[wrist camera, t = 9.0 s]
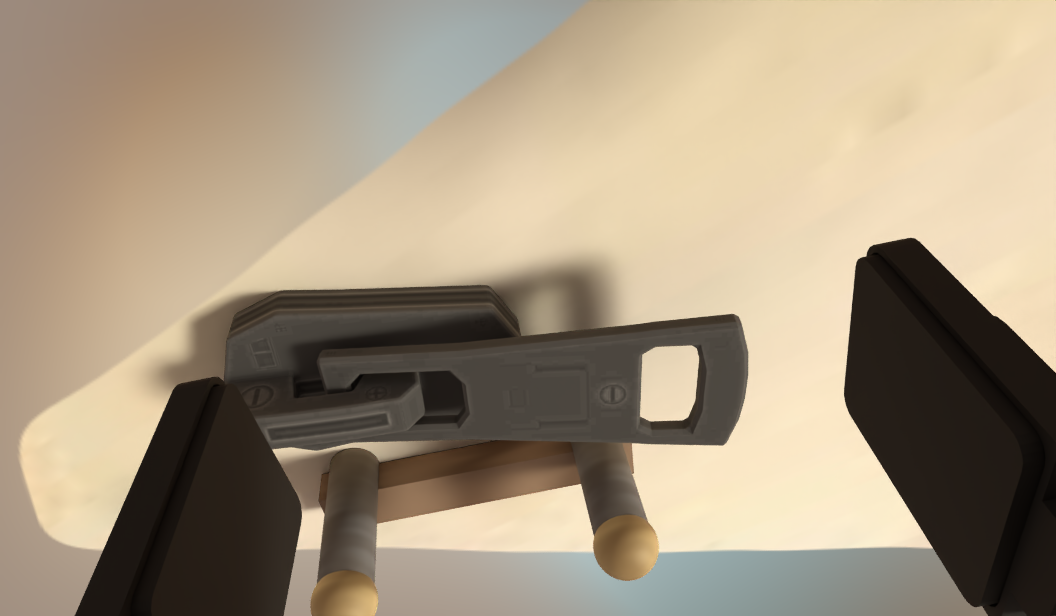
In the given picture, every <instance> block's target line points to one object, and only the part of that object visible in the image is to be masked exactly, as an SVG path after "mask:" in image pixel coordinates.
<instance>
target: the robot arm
mask: <svg viewBox="0 0 1056 616" xmlns="http://www.w3.org/2000/svg"><path fill="white" fill-rule="evenodd" d="M844 397H845V402H846V406H847V409H848V412H849V414H850V415H851V417H852V419H853V420H854V422H855V424H856V425H857V427H858V428H859V430H860V432H861V433H862V435H863V436H864V438H865V440H866V441H867V443H868V444H869V446H870V448H871V449H872V451H873V452H874V454H875V456H876V457H877V459H878V461H879V462H880V464H881V465H882V467H883V469H884V470H885V472H886V473H887V475H888V477H889V478H890V480H891V481H892V483H893V485H894V486H895V488H896V489H897V491H898V493H899V494H900V496H901V497H902V499H903V501H904V502H905V504H906V505H907V507H908V509H909V510H910V512H911V513H912V515H913V517H914V518H915V520H916V521H917V523H918V525H919V526H920V528H921V529H922V531H923V533H924V534H925V536H926V538H927V539H928V541H929V542H930V544H931V546H932V547H933V549H934V550H935V552H936V554H937V555H938V557H939V558H940V560H941V561H942V563H943V565H944V566H945V568H946V570H947V571H948V573H949V574H950V576H951V578H952V579H953V581H954V582H955V584H956V586H957V587H958V589H959V590H960V592H961V593H962V595H963V597H964V598H965V599H966V601H967V602H968V603H970V605H972V606H974V607H979V606H983V608H984V610H985V611H986V613H987V614H988V616H1056V373H1055V372H1054V371H1053V370H1052V369H1051V368H1050V367H1049V366H1048V365H1047V364H1046V363H1045V362H1044V361H1043V360H1042V359H1041V358H1040V357H1039V356H1038V355H1037V354H1036V353H1035V352H1034V351H1033V350H1032V349H1031V348H1030V347H1029V346H1028V345H1027V344H1026V343H1025V342H1024V341H1023V340H1022V339H1021V338H1020V337H1019V336H1018V335H1017V334H1016V333H1015V332H1014V331H1013V330H1012V329H1011V328H1010V327H1009V326H1008V325H1007V324H1006V323H1005V322H1003V321H1002V320H1001V319H999V318H998V317H996V316H993V315H992V314H991V313H990V312H989V311H988V310H987V309H986V308H985V307H984V306H983V305H982V304H981V303H980V302H979V301H978V300H977V299H976V298H975V297H974V296H973V295H972V294H971V293H970V292H969V291H968V290H967V289H966V288H965V287H964V286H963V285H962V284H961V283H960V282H959V281H958V280H957V279H956V278H955V277H954V276H953V275H952V274H951V273H950V272H949V271H948V270H947V269H946V268H945V267H944V266H943V265H942V264H941V263H940V262H939V261H938V260H937V259H936V258H935V257H934V256H933V255H932V254H931V253H930V252H929V251H928V250H927V249H926V248H925V247H924V246H923V245H922V244H921V243H920V242H919V241H918V240H916V239H915V238H907V239H902V240H897V241H892V242H887V243H882V244H877V245H873V246H871V247H870V248H869V250H868V252H867V256H866V257H862V258H860V259H858V261H857V263H856V269H855V280H854V290H853V301H852V312H851V322H850V333H849V344H848V354H847V365H846V376H845V386H844ZM301 519H302V510H301V504H300V501H299V498H298V496H297V494H296V492H295V490H294V489H293V487H292V485H291V483H290V481H289V480H288V478H287V476H286V474H285V472H284V471H283V469H282V467H281V465H280V463H279V462H278V460H277V458H276V456H275V454H274V453H273V451H272V449H271V447H270V445H269V444H268V442H267V440H266V438H265V436H264V435H263V433H262V431H261V429H260V427H259V426H258V424H257V422H256V420H255V418H254V417H253V415H252V413H251V411H250V409H249V408H248V406H247V404H246V402H245V400H244V399H243V397H242V395H241V393H240V391H239V390H238V388H237V387H236V386H235V385H234V384H225V383H224V381H223V380H222V379H220V378H219V377H211V378H206V379H201V380H196V381H191V382H186V383H181V384H179V385H177V386H176V387H175V388H174V390H173V392H172V394H171V396H170V398H169V401H168V403H167V405H166V408H165V410H164V412H163V414H162V417H161V419H160V421H159V424H158V426H157V428H156V431H155V433H154V435H153V437H152V440H151V442H150V444H149V447H148V449H147V451H146V453H145V456H144V458H143V460H142V463H141V465H140V467H139V470H138V472H137V474H136V476H135V479H134V481H133V483H132V486H131V488H130V490H129V493H128V495H127V497H126V499H125V502H124V504H123V506H122V509H121V511H120V513H119V515H118V518H117V520H116V522H115V525H114V527H113V529H112V532H111V534H110V536H109V538H108V541H107V543H106V545H105V548H104V550H103V552H102V554H101V557H100V559H99V561H98V564H97V566H96V568H95V571H94V573H93V575H92V577H91V580H90V582H89V584H88V587H87V589H86V591H85V594H84V596H83V598H82V600H81V603H80V605H79V607H78V610H77V612H76V614H75V616H283V615H284V610H285V605H286V599H287V594H288V589H289V584H290V578H291V573H292V568H293V563H294V557H295V552H296V547H297V542H298V536H299V531H300V526H301Z"/></svg>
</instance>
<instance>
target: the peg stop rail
mask: <svg viewBox="0 0 1056 616" xmlns="http://www.w3.org/2000/svg"><path fill="white" fill-rule="evenodd" d="M633 473H634V469H633V455H632V443H606V442H562V441H517V440H498V441H493V442H487V443H482V444H477V445H472V446H467V447H461V448H456V449H451V450H446V451H441V452H436V453H430V454H425V455H420V456H415V457H410V458H404V459H399V460H394V461H389V462H384V463H379V461H378V459H377V457H376V456H375V455H374V454H372V453H371V452H369V451H367V450H364V449H358V448H351V449H346V450H343V451H341V452H339V453H337V454H336V455H335V456H334V457H333V458H332V460H331V463H330V471H329V473H327V474H322V478H321V486H320V494H319V503H320V505H321V507H322V509H323V512H324V514H325V516H324V525H323V534H322V543H321V552H320V561H319V570H318V579H317V585H316V587H315V589H314V591H313V593H312V597H311V614H312V616H374V615H375V613H376V610H377V606H378V593H377V589H376V587H375V560H376V535H377V523H383V522H388V521H393V520H398V519H403V518H408V517H413V516H418V515H424V514H429V513H434V512H439V511H444V510H449V509H454V508H459V507H464V506H470V505H475V504H480V503H485V502H490V501H495V500H500V499H505V498H511V497H516V496H521V495H526V494H531V493H536V492H541V491H546V490H552V489H557V488H562V487H567V486H572V485H577V484H581V485H582V489H583V493H584V497H585V501H586V505H587V510H588V514H589V518H590V522H591V526H592V530H593V534H594V542H593V549H594V554H595V558H596V560H597V562H598V564H599V565H600V567H601V568H602V569H603V570H604V571H605V572H606V573H607V574H609V575H610V576H611V577H614V578H616V579H619V580H625V581H630V580H635V579H638V578H641V577H643V576H644V575H646V574H647V573H648V572H649V571H650V570H651V569H652V568H653V566H654V565H655V562H656V560H657V557H658V552H659V544H658V539H657V536H656V533H655V531H654V529H653V528H652V526H651V525H650V524H649V523H648V521H647V518H646V515H645V512H644V508H643V505H642V502H641V499H640V496H639V493H638V490H637V487H636V484H635V481H634V478H633V475H632V474H633Z"/></svg>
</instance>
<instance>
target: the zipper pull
mask: <svg viewBox="0 0 1056 616" xmlns="http://www.w3.org/2000/svg"><path fill="white" fill-rule="evenodd" d="M686 345H692V346H694V347H696V348H697V351H698V355H699V368H698V379H697V389H696V400H695V403H694V405H693V408H692V410H691V412H690V415H689V417H688V418H687V419H685V420H683V421H654V422H650V421H648V420H646V419H644V418H642V417H640V399H641V372H642V354H644V353H646V352H647V351H649V350H651V349H653V348H654V347H661V346H686ZM747 379H748V349H747V345H746V341H745V337H744V332H743V328H742V324H741V321H740V319H739V317H738V316H736V315H735V314H728V315H718V316H708V317H698V318H688V319H678V320H668V321H658V322H650V323H643V324H635V325H626V326H616V327H607V328H597V329H588V330H578V331H568V332H559V333H549V334H540V335H530V336H521V334H520V329H519V325H518V320H517V318H516V317H515V316H514V314H513V313H512V312H511V311H510V310H509V308H508V307H507V306H506V305H505V304H504V303H503V301H502V300H501V299H500V298H499V297H498V296H497V294H496V293H495V292H494V291H493V290H492V289H491V288H490V287H489V286H485V285H470V286H439V287H408V288H376V289H345V290H283V291H279V292H277V293H275V294H273V295H271V296H270V297H268V298H266V299H264V300H262V301H260V302H258V303H256V304H254V305H252V306H250V307H248V308H246V309H244V310H242V311H240V312H238V313H237V314H236V315H235V316H234V319H233V322H232V325H231V328H230V331H229V335H228V338H227V341H226V357H225V373H224V383H225V384H234V385H235V386H236V387H237V388H238V390H239V391H240V393H241V395H242V397H243V399H244V400H245V402H246V404H247V406H248V408H249V409H250V411H251V413H252V415H253V417H254V418H255V420H256V422H257V424H258V426H259V427H260V429H261V431H262V433H263V435H264V436H265V438H266V440H267V442H268V444H269V445H270V447H271V449H279V448H288V447H294V448H301V449H308V450H322V449H327V448H331V447H335V446H340V445H344V444H348V443H353V442H388V441H427V440H467V439H471V440H517V441H562V442H606V443H641V444H674V445H724V444H725V443H726V442H727V440H728V439H729V437H730V435H731V433H732V431H733V429H734V427H735V425H736V423H737V422H738V420H739V417H740V413H741V410H742V406H743V403H744V399H745V393H746V387H747Z"/></svg>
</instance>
